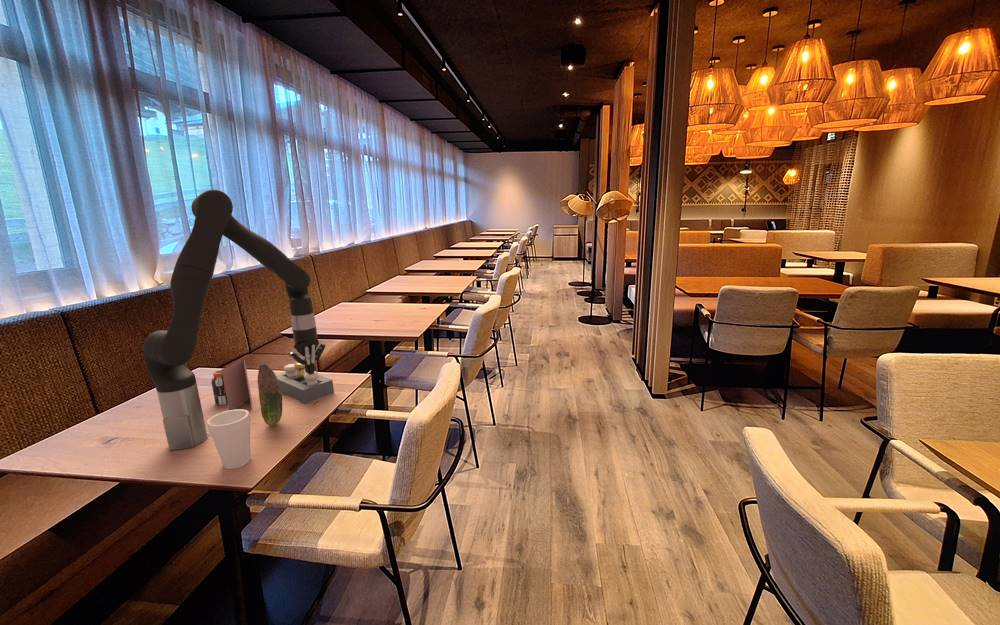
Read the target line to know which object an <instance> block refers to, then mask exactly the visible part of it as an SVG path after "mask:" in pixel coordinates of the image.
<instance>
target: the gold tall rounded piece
mask: <svg viewBox="0 0 1000 625" xmlns="http://www.w3.org/2000/svg"><path fill="white" fill-rule="evenodd" d="M293 364H294V366H295V369H296V370H297V374H298V380H299V382H301V381H303V380H305V379H304V374H305V371H304V369H305V365H303V364H300V363H298V362H297V361H296V362H295V363H293Z"/></svg>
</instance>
